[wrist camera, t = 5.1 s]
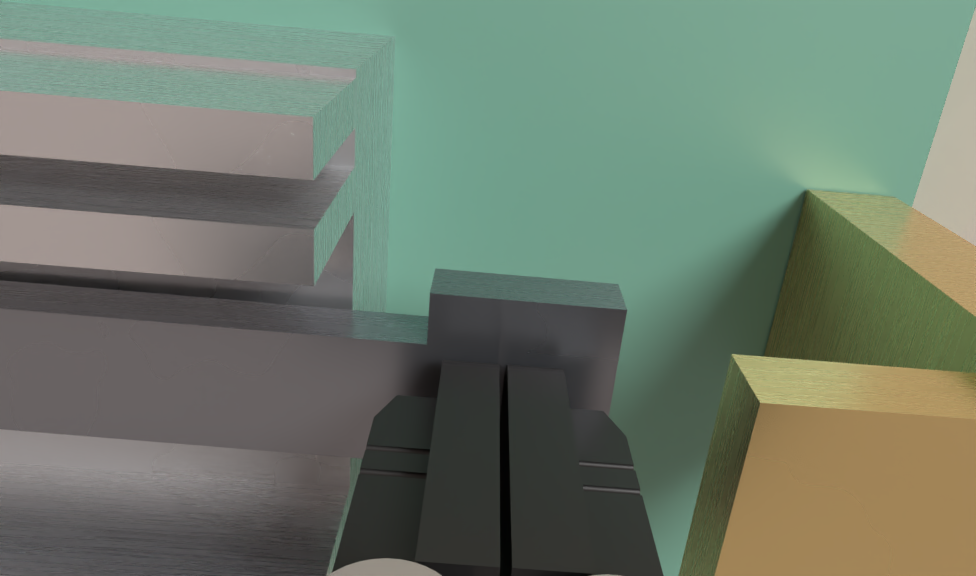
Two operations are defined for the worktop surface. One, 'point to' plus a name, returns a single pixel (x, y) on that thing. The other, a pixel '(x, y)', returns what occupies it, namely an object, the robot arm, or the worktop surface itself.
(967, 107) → the worktop surface
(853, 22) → the pcb board
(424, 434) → the robot arm
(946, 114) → the worktop surface
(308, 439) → the strap
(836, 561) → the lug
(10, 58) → the heat sink
